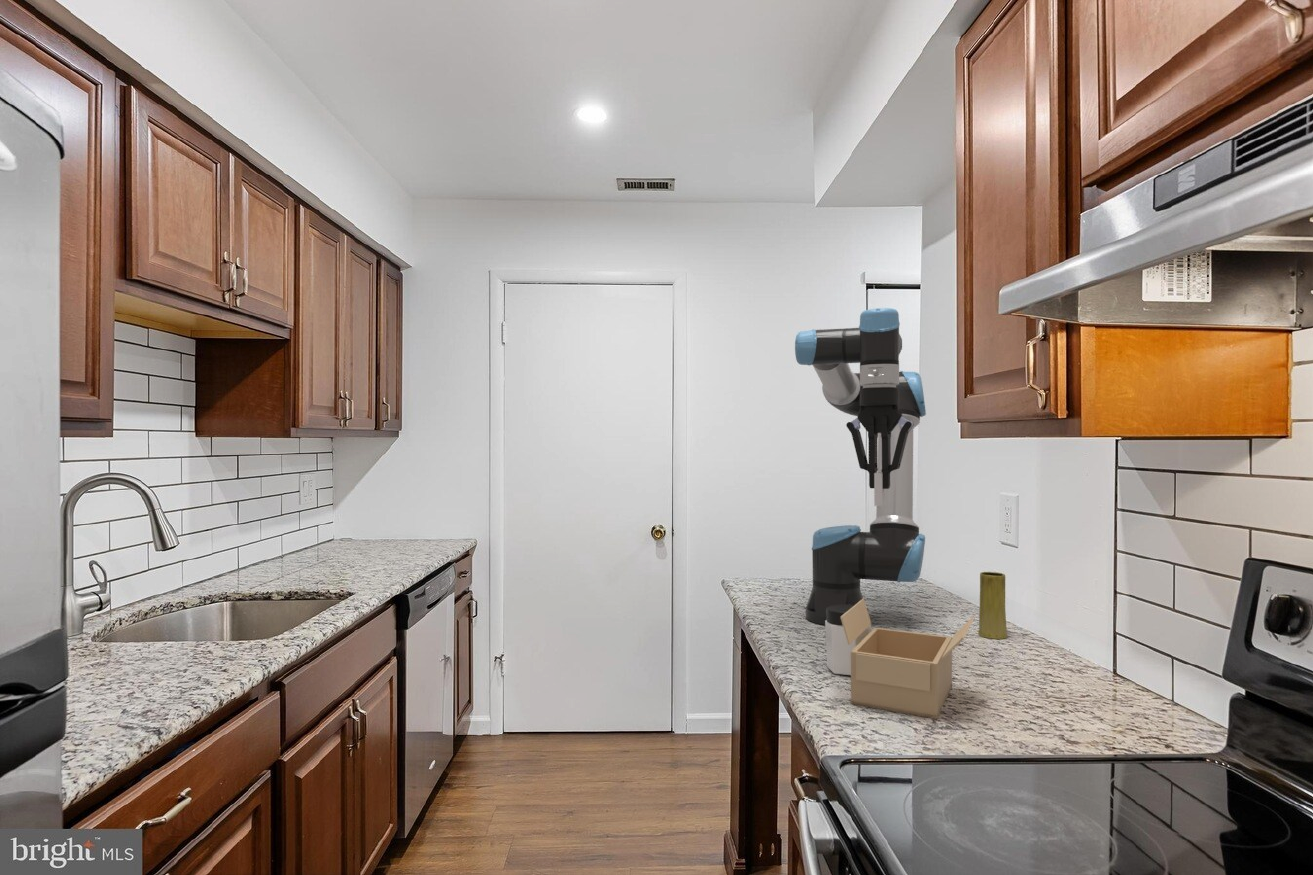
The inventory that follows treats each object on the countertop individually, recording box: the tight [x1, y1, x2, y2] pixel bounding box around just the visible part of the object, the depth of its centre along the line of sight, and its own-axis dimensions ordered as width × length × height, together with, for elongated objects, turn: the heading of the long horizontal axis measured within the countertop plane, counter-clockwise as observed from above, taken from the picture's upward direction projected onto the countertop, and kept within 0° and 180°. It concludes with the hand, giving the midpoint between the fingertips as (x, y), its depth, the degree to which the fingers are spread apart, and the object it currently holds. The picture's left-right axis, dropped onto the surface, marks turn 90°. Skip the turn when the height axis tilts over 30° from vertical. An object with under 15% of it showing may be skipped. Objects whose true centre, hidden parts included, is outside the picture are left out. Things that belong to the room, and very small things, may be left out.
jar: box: [824, 604, 872, 676], centre depth 144 cm, size 9×8×12 cm
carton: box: [850, 627, 953, 720], centre depth 130 cm, size 19×14×9 cm
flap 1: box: [840, 598, 872, 645], centre depth 134 cm, size 16×5×1 cm
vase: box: [978, 571, 1008, 640], centre depth 168 cm, size 6×6×14 cm
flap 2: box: [942, 615, 975, 659], centre depth 126 cm, size 16×5×1 cm
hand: (879, 505), depth 146 cm, fingers closed
